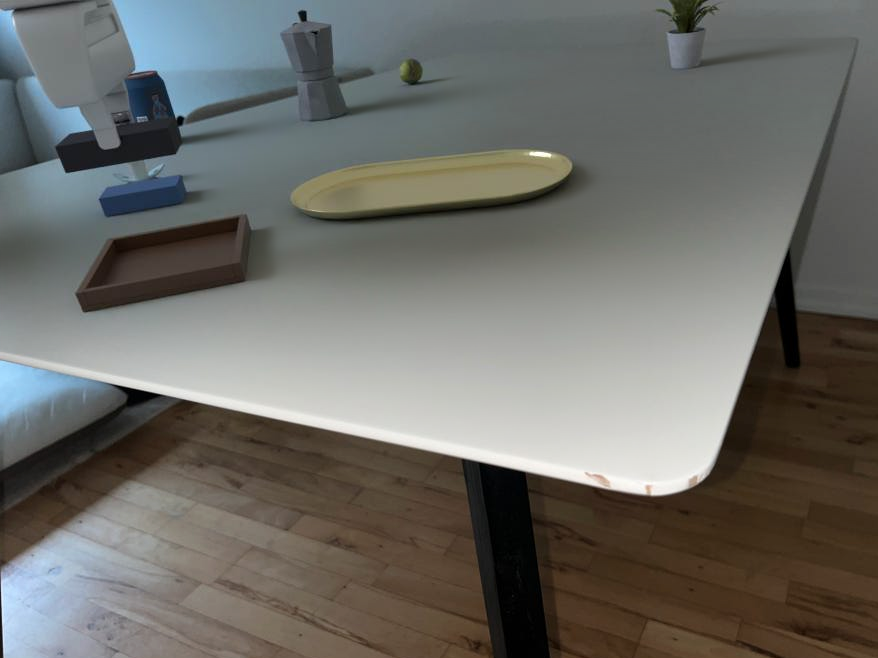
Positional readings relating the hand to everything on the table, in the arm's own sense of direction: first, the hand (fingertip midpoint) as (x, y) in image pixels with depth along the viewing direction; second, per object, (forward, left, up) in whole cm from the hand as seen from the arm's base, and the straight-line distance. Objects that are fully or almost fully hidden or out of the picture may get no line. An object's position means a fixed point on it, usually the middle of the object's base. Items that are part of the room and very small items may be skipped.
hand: (119, 138), depth 70 cm
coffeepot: (+19, +70, -14) cm, 74 cm away
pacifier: (-9, +39, -14) cm, 43 cm away
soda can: (-10, +67, -14) cm, 69 cm away
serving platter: (+30, +12, -14) cm, 36 cm away
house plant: (+87, +58, -14) cm, 106 cm away
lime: (+39, +86, -14) cm, 96 cm away
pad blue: (-7, +29, -14) cm, 33 cm away
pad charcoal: (0, 0, -2) cm, 2 cm away
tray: (0, +2, -14) cm, 14 cm away
